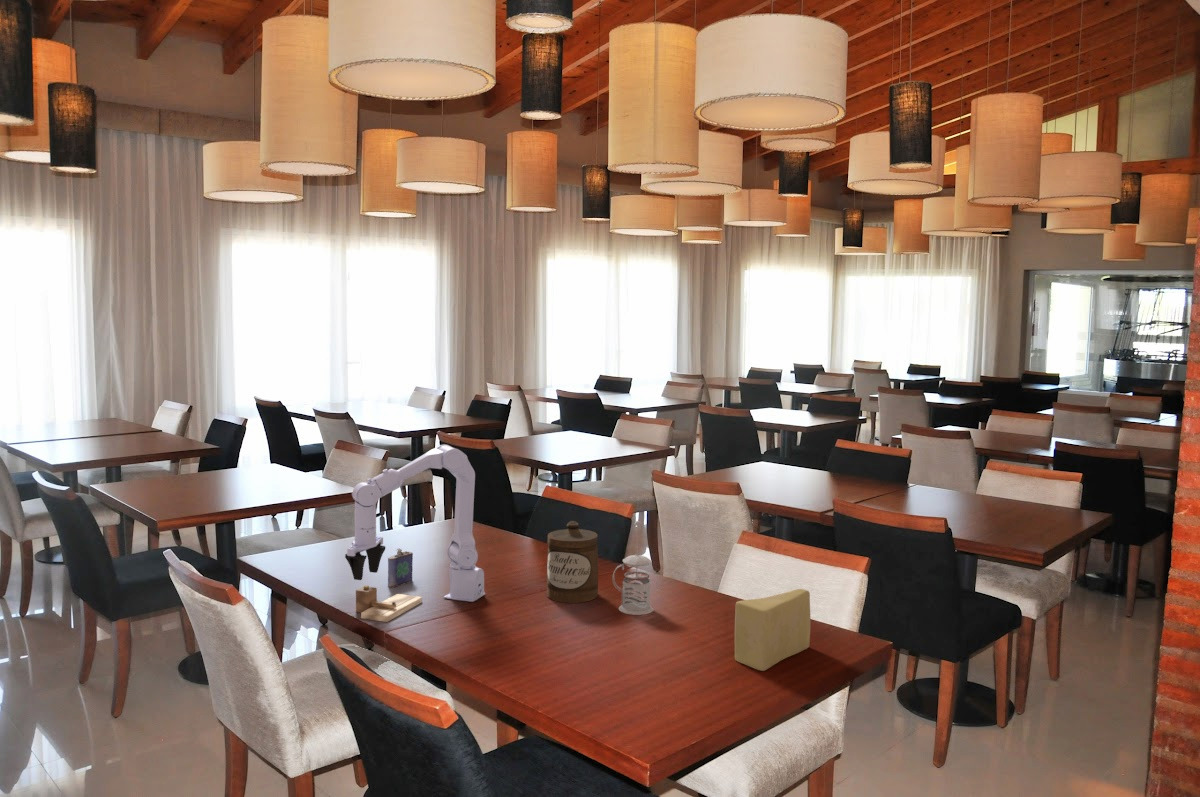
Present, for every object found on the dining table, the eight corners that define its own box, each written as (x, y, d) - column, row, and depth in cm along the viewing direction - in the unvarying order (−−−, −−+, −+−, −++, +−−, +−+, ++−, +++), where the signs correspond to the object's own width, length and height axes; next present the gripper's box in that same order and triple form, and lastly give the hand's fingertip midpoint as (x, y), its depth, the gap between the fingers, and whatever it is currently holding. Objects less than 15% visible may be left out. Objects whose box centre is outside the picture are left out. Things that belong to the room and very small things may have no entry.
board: (422, 602, 262) (422, 596, 262) (387, 621, 245) (387, 616, 245) (397, 598, 264) (397, 593, 264) (361, 618, 247) (361, 612, 247)
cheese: (792, 641, 236) (794, 583, 234) (823, 652, 228) (825, 593, 227) (731, 660, 222) (733, 599, 220) (762, 673, 214) (765, 610, 213)
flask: (392, 588, 274) (391, 552, 273) (385, 586, 276) (384, 551, 275) (414, 581, 282) (414, 546, 281) (407, 579, 283) (407, 545, 283)
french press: (650, 616, 253) (652, 526, 251) (609, 612, 255) (610, 523, 253) (655, 605, 263) (657, 518, 260) (615, 601, 265) (617, 515, 263)
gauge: (399, 612, 253) (398, 587, 252) (391, 616, 249) (390, 592, 248) (364, 607, 256) (364, 583, 256) (355, 611, 253) (355, 587, 252)
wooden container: (539, 600, 265) (540, 524, 263) (557, 585, 280) (557, 514, 277) (588, 605, 261) (589, 529, 259) (604, 591, 275) (605, 518, 273)
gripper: (367, 520, 261) (367, 567, 262) (337, 531, 247) (337, 581, 248) (389, 522, 259) (389, 570, 260) (360, 533, 245) (360, 584, 246)
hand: (365, 575), depth 254 cm, fingers open, 7 cm apart
